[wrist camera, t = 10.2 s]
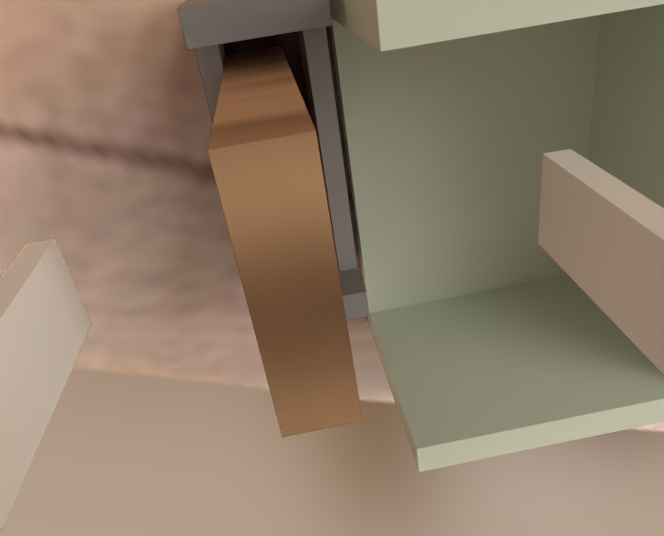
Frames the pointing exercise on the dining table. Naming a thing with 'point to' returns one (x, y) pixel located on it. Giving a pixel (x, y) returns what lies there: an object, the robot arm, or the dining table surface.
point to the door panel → (283, 240)
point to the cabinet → (473, 198)
